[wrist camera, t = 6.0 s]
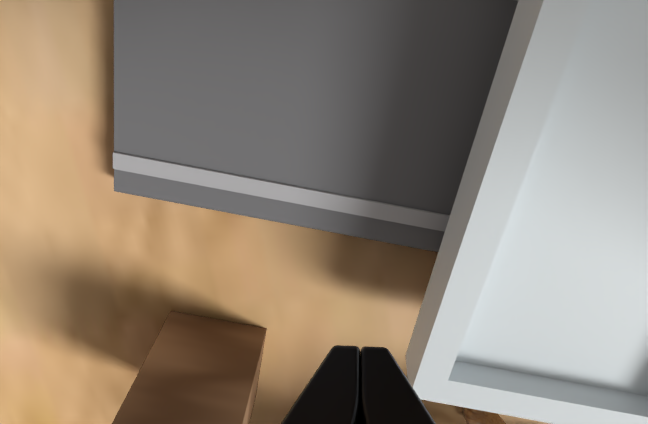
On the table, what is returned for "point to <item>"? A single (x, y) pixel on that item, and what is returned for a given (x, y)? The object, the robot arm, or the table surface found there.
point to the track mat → (306, 108)
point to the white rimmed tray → (549, 229)
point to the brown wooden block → (197, 374)
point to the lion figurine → (481, 417)
